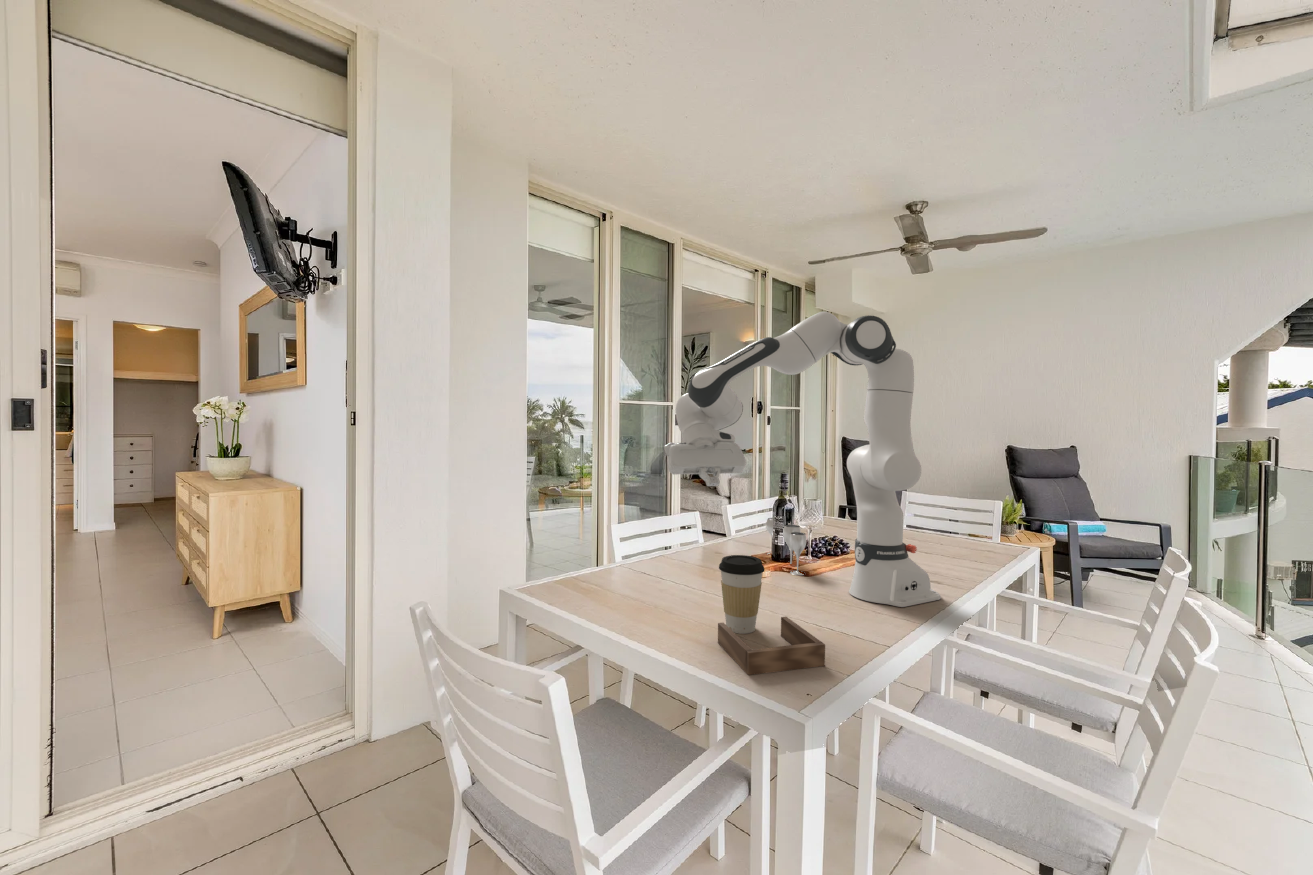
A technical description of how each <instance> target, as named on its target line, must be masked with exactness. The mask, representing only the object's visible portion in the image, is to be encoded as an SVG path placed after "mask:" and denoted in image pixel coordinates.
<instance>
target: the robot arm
mask: <svg viewBox="0 0 1313 875" xmlns="http://www.w3.org/2000/svg"><path fill="white" fill-rule="evenodd" d="M887 323H888V322H886V321H885V320H884V319H882V318H881V317H879V316H875V315H872V314H871V315H862V316H859V317H857V318H855V319H854V320H852V321H851V322H850V323H843V322H841V321H840V320H839V318H838V317H836V315H835V314H833V313H831V312H829V311H819V312H817V313H815V314H813V315H811V316H809V317H807V318H805V319H803V320H801V321H800V322H799V323H797V324H796V325H794V326H792V327H791V328H790V329H789V330H787V331H785V332H784V333H782V334H780V335H778V336H775V337H771V336H769V337H766V336H765V337H763V338H760V339H759V340H756V341H754V342H752V343H750V344H748V345H746V346H745V347H743V348H741V349H740V350H738V351H736V352H734V353H733V354H731V355H729V356H728V357H726V358H724V359H722V360H721V361H719V362H717V363H715V364H712V365H711V366H708V367H704V368H702V369H700V370H698V371H697V372H696V373H694V374H693V375H692V376H691V379H690V380H689V383H688V388H687V393H684V394H683V395H681V396H680V397H679V398H678V400H677V401H676V405H675V417H676V422H677V426H678V429H679V431H680V432H681V440H682V442H669V443H668V444H665V445H664V446H663V450H664V455H665V456H666V457H667V459H666V460H667V469H668V472H669V473H670V474H672V475H698V476H699V478H700V479H702V480H703V481H704V482H705V484H706V487H718V486H719V485H720V478H719V476H720V474H724V475H725V474H727V475H728V474H742V473H743V471H744V470H745V469H746V466H747V459H746V457H745V455H744V453H743V450H742V449H741V447H740V446H739V444H737V443H735V442H736V437H735V435H734V434H731V433H728V432H724V431H721V430H725V429H726V428H728V427H730V426H732V425H734V424H736V423H737V422H738V421H739V420H740V418H741V417H742V414H743V410H744V404H743V402H742V401H741V400H740V398H739V396H738V395H737V394H736V392H735V391H734V390H733V389H732V387H731V386H730V384H731V383H732V382H733V381H734V380H737V379H738V378H739V377H741V376H743V375H745V374H746V373H748V372H750V371H752V370H753V369H756V368H758V367H769V368H771V369H773V370H775V371H777V373H780V374H783V375H787V376H788V375H789V376H791V375H792V376H794V375H795V376H796V375H798V374H801V373H803V372H806V370H808V369H809V368H810V367H813V366H814V364H816V363H817V362H818V361H820V360H821V359H822V358H823V357H826V356H827V355H829V354H832V355H833V356H834V357H836V358H838V360H840V361H842V362H843V363H845V364H847V365H850V366H861V365H863V366H864V367H865V369H866V371H867V376H868V377H867V378H868V381H867V386H866V387H867V388H866V396H865V404H864V413H863V421H864V424H865V426H866V429H867V430H866V431H867V434H868V441H869V444H865V445H862V446H859V447H856V448H855V449H853V450H852V451H851V452H850V453H849V455H848V456H847V459H846V468H847V471H848V473H849V476H850V478H851V482H852V488H853V492H854V499H855V504H856V538H855V540H854V559H855V562H854V570H853V571H854V572H853V575H852V580H851V583H850V587H849V589H848V593H849V594H850V595H851V596H853V597H855V598H857V599H860V600H862V601H866V602H870V603H877V604H883V605H890V606H894V607H899V608H900V607H901V608H904V607H910V606H916V605H919V604H925V603H929V602H934V601H938V600H941V599H942V596H941V594H940V593H939V592H938V591H936V590H934V589H933V588H932V587H931V579H930V576H929V574H928V572H927V571H926V570H925V569H924V568H922V567H921V566H920V565H919V564H917V563H916V562H915V561H914V560H913V559H911V558H910V557H909V554H908V553H911V554H916V552H917V551H918V548H917V545H914V544H910V543H909V544H906V543H905V542H904V540H903V539H904V538H903V537H904V511H903V509H902V507H901V506H900V504H899V501H898V497H897V493H896V492H900V491H901V492H902V491H907V490H909V489H912V488H913V487H915V486H916V484H918V482H919V480H920V479H921V477H922V465H921V462H920V460H919V458H918V457H917V455H916V453H915V449H914V444H913V439H912V438H913V436H912V431H911V429H912V428H911V419H912V409H913V406H912V405H913V400H914V399H913V397H914V387H915V370H914V359H913V356H912V355H911V354H910V353H909V352H907V351H905V350H903V349H901V348H896V347H897V343H896V341H895V339H894V337H893V336H892V332H891V328H889V325H888V324H887ZM711 474H712V476H710V475H711Z"/></svg>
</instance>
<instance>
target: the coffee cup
mask: <svg viewBox="0 0 1313 875" xmlns="http://www.w3.org/2000/svg"><path fill="white" fill-rule="evenodd" d="M718 569H719V571H720V575H721V580H720V583H721V593H722V604H723V612H724V615H725V624H726V625H727V626H728V627H729V628H730V629H731V630H732V631H733V632H734V633H735V634H740V635H742V634H743V635H744V634H745V635H746V634H751V633H753V632H755V630H756V626H757V625H756V624H757V616H758V614H759V608H760V606H759V604H760V598H761V590H762V586H763V584H762V580H763V579H762V578H763V573H764V572H765V566H764V565H763V562H762V560H761V558H759V557H756V556H752V555H745V554H733V555H732V554H731V555H726V556H724V557H722V559H721V561H720V563H719V566H718Z"/></svg>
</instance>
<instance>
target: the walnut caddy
mask: <svg viewBox="0 0 1313 875" xmlns="http://www.w3.org/2000/svg"><path fill="white" fill-rule="evenodd" d="M780 637H782V639H784V640H785V641H786V642H788V643H789V644H790V645H782V646H781V645H779V646H774V647H764V648H754V649H752V648H751V647H750V646H749V645H748V644H747V643H746V642H745V641H743V640H742V638H740V636H738V635H737V633H734V632H733V631H732V630H731V629H730V628H729V627H728V626H727V625H726V622H718V623H717V643H718V644H719V645H720V647H721V648H722V649H723V651H725V652H726V653H727V654H728V655H729V656H730V658H732V659H733V660H734V662H736V663H737V665H738V666H739V667H740V668H741V669H742V670H743V671H744V672H745V673H746V674H747V675H748V676H752V675H760V674H768V673H776V672H786V671H793V670H802V669H811V668H816V667H825V664H826V644H825V643H824V642H823V641H821V640H820V639H818V638H817V637H816V636H814V635H813V634H811V633H810V632H808V631H807V630H806V629H804V628H803V627H801V626H800V625H799V624H797V623H796V622H795V621H793V620H792V619H791V618H789V617H788V616H781V618H780Z"/></svg>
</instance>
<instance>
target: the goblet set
mask: <svg viewBox="0 0 1313 875" xmlns="http://www.w3.org/2000/svg"><path fill="white" fill-rule="evenodd" d="M773 518H774V517H768V518H767V519H766V522H765V529H766V531H767V532H768V534H769V535H770V536H771V537H772V539H773ZM783 537H784V540H785V542H786V544H787V547H788V549H789V552H790V553H789V554H790V555H789V556H790V557H789V558H790V559H789V562H790V564H793V552H794V555H795V557H796V567H797V570H790V572H789V574H790V575H793V576H805V575H804V574H802V573H800V572H799V569H798V568H799V561H800V560H799V559H800V556H801V554H802V552H803V551H804V550H805V548H806V544H807V534H806V533H805V532H801V527H800V525H798V524H792V522H791V521H790V523H788V525H784V528H783ZM770 553H771V552H770V551H769V552H767V553H766V555H768V554H770ZM792 571H793V572H792Z"/></svg>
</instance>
